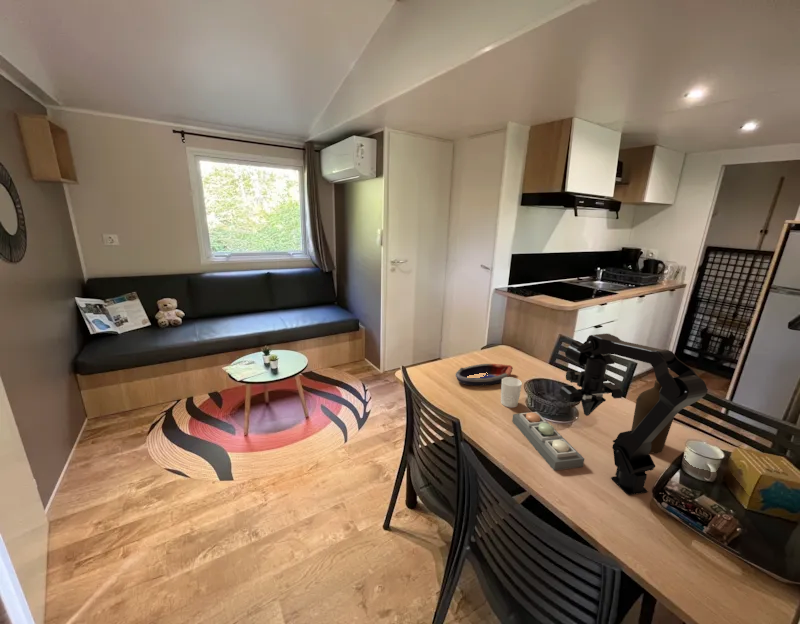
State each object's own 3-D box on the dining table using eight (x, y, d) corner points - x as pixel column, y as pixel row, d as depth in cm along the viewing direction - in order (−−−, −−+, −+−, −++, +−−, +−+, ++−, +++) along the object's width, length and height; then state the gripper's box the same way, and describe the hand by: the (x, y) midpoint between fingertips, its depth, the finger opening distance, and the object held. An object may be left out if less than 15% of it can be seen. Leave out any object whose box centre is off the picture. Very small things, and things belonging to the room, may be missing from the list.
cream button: (571, 453, 107) (572, 448, 107) (557, 454, 106) (558, 450, 106) (562, 443, 112) (562, 439, 111) (548, 444, 111) (549, 440, 110)
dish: (448, 376, 164) (448, 366, 162) (502, 368, 173) (503, 359, 172) (464, 392, 150) (465, 381, 148) (522, 382, 159) (523, 372, 158)
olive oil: (647, 457, 111) (665, 388, 104) (619, 437, 120) (634, 373, 113) (672, 452, 113) (692, 384, 106) (643, 433, 123) (659, 370, 116)
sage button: (556, 434, 114) (557, 430, 114) (543, 436, 113) (544, 431, 113) (548, 426, 119) (548, 422, 118) (535, 427, 118) (536, 423, 117)
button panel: (582, 466, 106) (585, 455, 105) (553, 470, 104) (555, 458, 103) (536, 418, 130) (537, 408, 129) (512, 421, 129) (513, 411, 127)
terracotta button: (542, 423, 122) (543, 419, 122) (530, 424, 121) (530, 420, 121) (534, 415, 127) (535, 411, 126) (523, 416, 126) (523, 413, 125)
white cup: (499, 406, 138) (502, 384, 135) (498, 397, 145) (501, 376, 143) (519, 409, 136) (522, 387, 134) (518, 399, 144) (521, 378, 141)
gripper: (601, 359, 117) (593, 399, 121) (552, 363, 114) (546, 404, 118) (628, 374, 106) (618, 417, 111) (574, 378, 103) (566, 423, 108)
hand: (586, 415), depth 112 cm, fingers closed
